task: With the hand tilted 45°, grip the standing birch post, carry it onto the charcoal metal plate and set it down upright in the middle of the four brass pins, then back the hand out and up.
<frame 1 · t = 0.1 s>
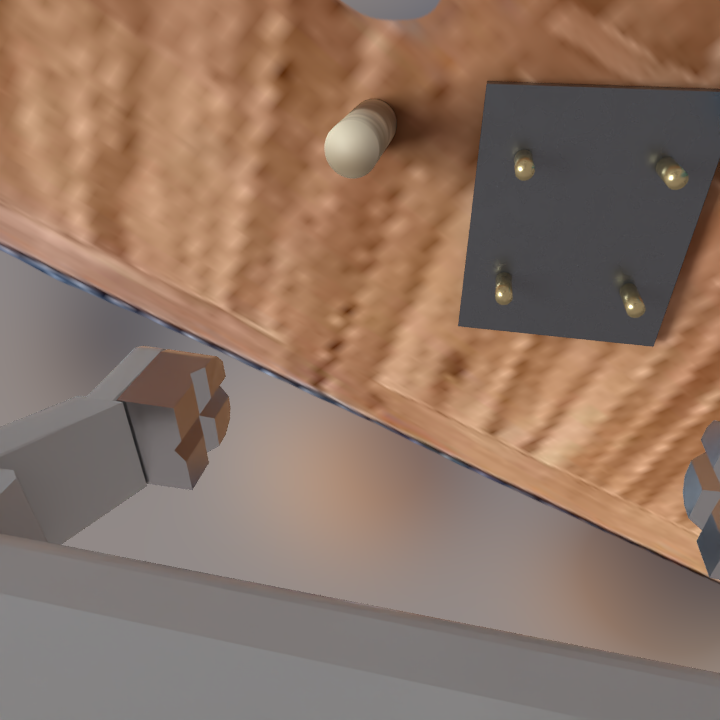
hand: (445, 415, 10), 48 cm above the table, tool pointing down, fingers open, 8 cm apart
birch post: (373, 124, 53), on the table
pin plate: (576, 222, 54), on the table
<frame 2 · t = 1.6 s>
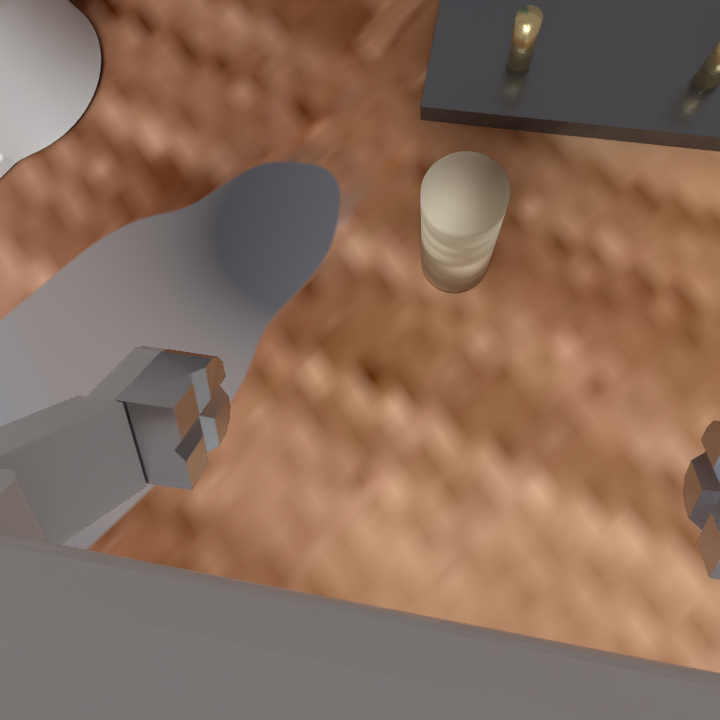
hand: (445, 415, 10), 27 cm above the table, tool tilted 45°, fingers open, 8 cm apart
birch post: (454, 261, 38), on the table
pin plate: (614, 8, 40), on the table
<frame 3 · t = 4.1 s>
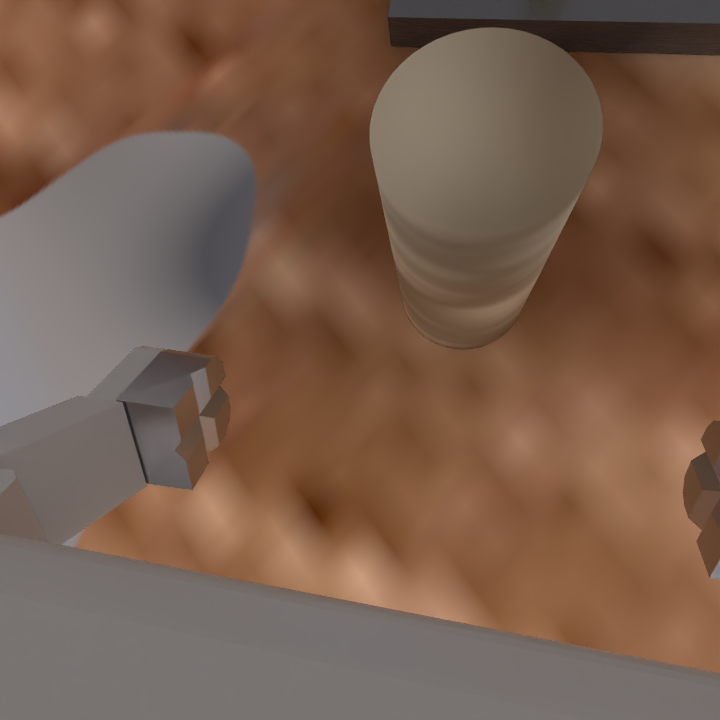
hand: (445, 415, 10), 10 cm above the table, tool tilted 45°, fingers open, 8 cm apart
birch post: (462, 290, 21), on the table
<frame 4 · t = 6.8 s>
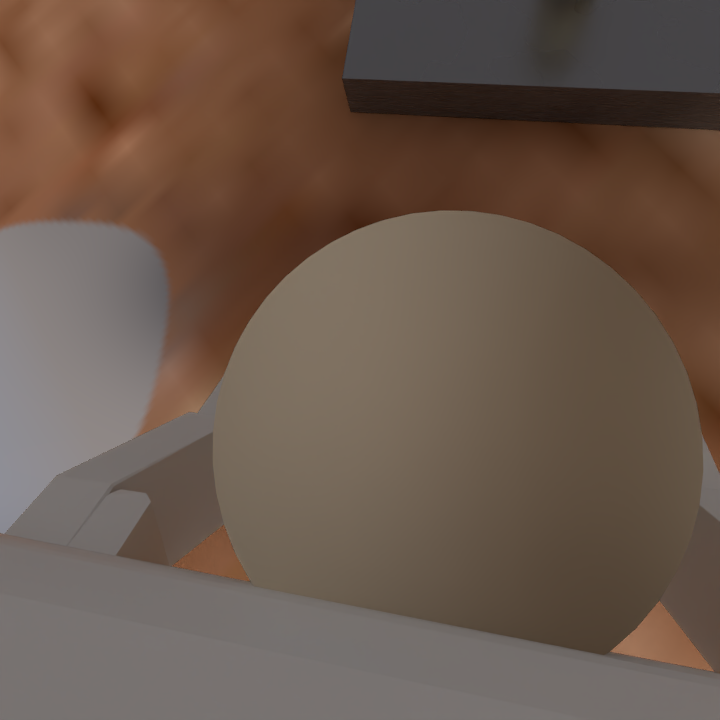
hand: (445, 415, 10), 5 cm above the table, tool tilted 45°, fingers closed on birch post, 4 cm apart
birch post: (441, 460, 15), on the table, touching gripper
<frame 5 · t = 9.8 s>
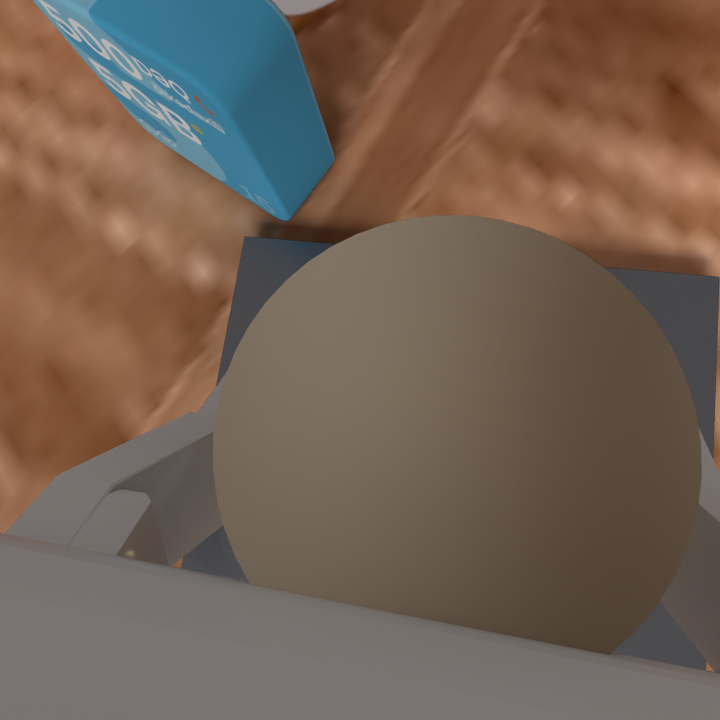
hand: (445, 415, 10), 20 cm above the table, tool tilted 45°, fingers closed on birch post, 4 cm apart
data package: (240, 152, 34), on the table
birch post: (440, 461, 15), point 14 cm above the table, touching gripper
pin plate: (443, 451, 29), on the table
when the fingers open (8 cm above the table, at t = 13.1 s): birch post stays where it is, resting on pin plate.
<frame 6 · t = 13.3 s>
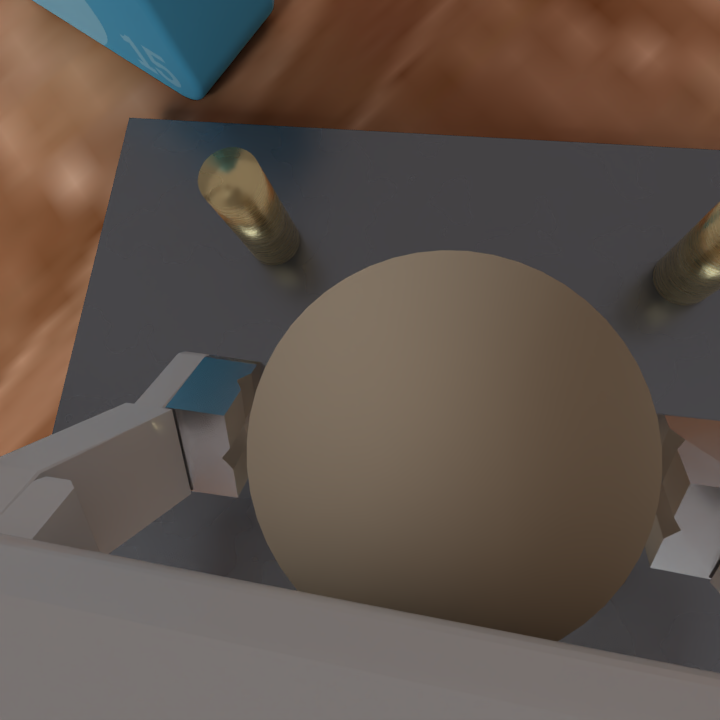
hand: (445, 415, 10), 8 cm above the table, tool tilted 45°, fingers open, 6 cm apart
data package: (140, 7, 23), on the table
birch post: (440, 461, 16), point 2 cm above the table, touching pin plate
pin plate: (442, 461, 17), on the table
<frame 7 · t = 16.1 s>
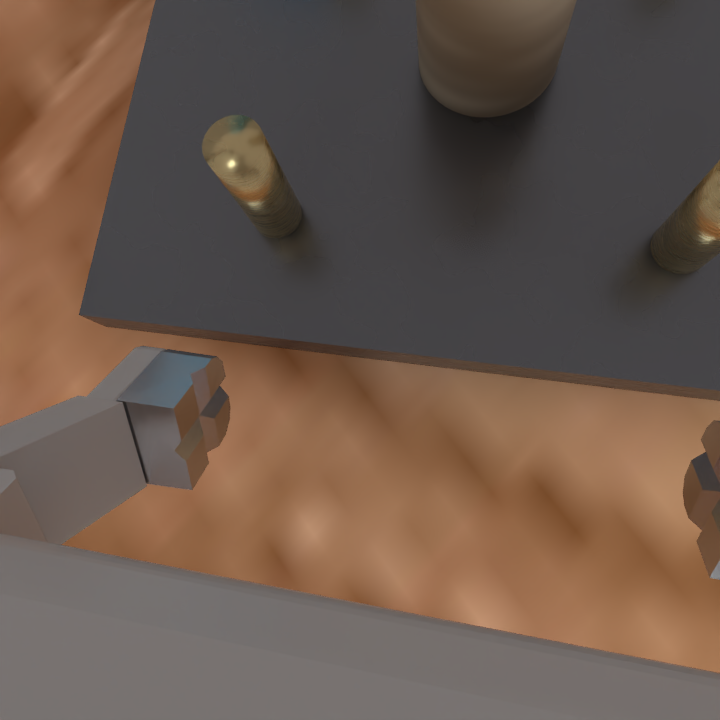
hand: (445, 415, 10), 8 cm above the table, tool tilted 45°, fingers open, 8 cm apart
birch post: (487, 55, 18), point 2 cm above the table, touching pin plate
pin plate: (485, 86, 20), on the table
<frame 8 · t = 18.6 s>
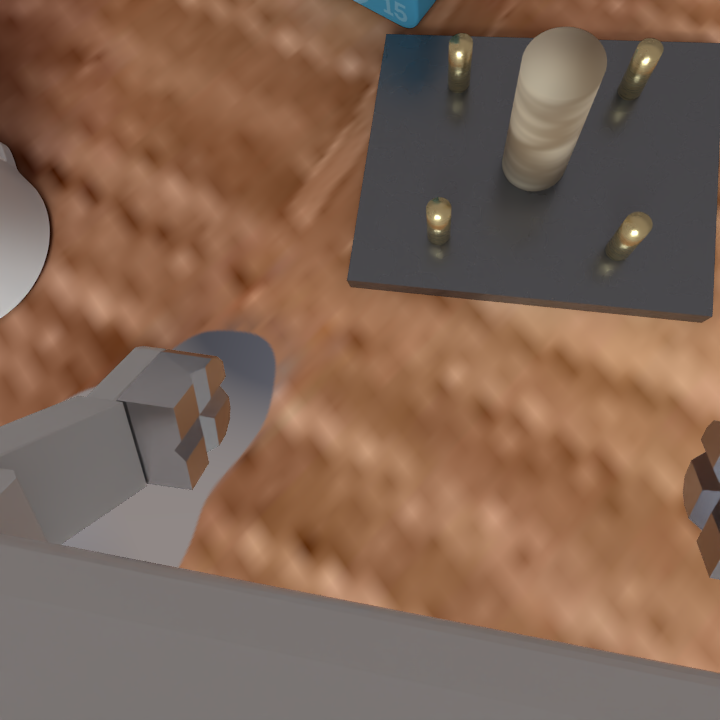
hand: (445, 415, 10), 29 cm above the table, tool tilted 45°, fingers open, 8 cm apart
birch post: (533, 162, 40), point 2 cm above the table, touching pin plate
pin plate: (531, 173, 41), on the table
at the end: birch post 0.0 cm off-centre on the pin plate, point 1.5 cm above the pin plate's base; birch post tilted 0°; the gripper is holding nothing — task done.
